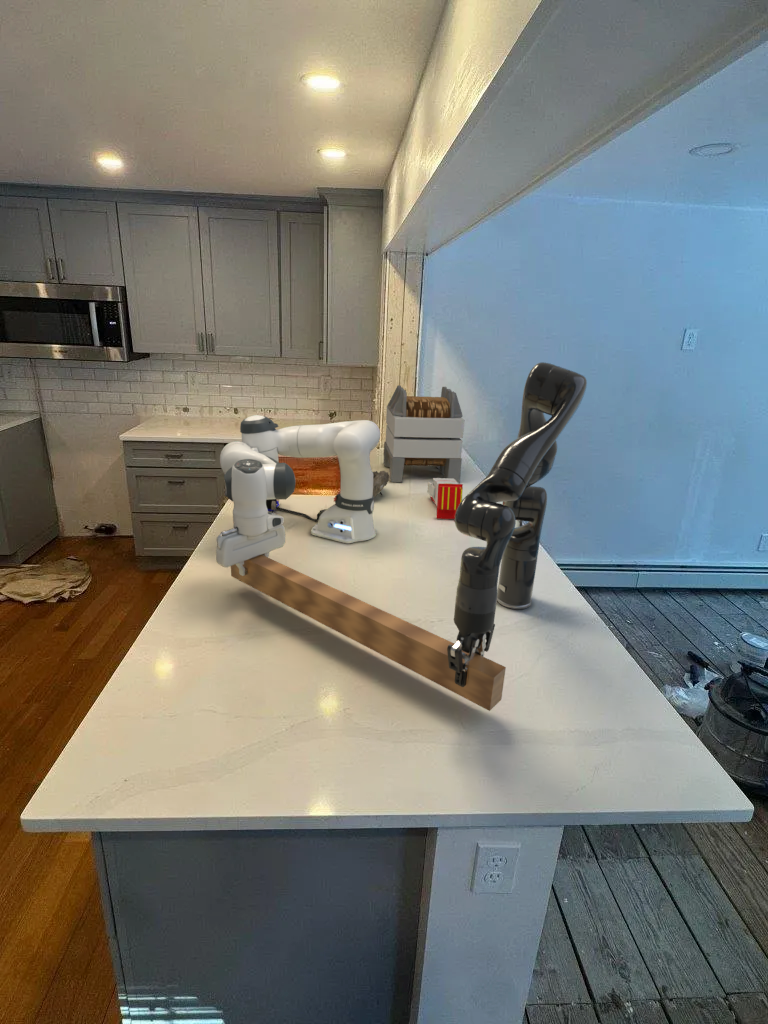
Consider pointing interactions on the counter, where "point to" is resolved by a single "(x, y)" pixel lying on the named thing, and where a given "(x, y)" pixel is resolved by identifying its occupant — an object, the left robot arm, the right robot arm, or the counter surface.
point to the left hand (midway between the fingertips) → (252, 570)
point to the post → (374, 629)
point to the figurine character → (272, 504)
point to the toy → (445, 496)
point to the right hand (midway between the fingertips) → (467, 678)
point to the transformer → (423, 433)
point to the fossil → (379, 481)
